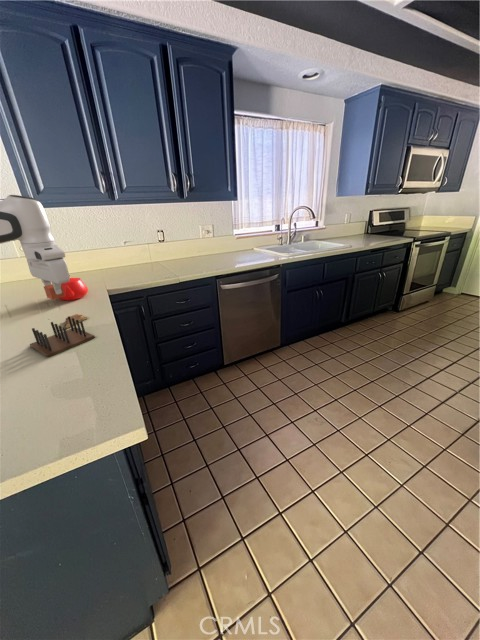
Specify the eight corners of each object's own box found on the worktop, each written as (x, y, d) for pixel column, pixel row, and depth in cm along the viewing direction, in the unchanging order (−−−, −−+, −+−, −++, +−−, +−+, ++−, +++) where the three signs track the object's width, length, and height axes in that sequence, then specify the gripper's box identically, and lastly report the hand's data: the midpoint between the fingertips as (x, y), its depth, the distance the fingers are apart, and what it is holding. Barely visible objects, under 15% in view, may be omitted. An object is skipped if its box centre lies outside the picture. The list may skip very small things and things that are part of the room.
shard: (66, 329, 107) (64, 325, 106) (52, 327, 110) (51, 323, 109) (88, 319, 116) (87, 315, 116) (75, 317, 119) (73, 313, 118)
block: (52, 299, 88) (48, 288, 86) (47, 297, 90) (43, 286, 88) (65, 296, 91) (61, 285, 89) (59, 294, 93) (56, 283, 92)
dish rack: (48, 357, 88) (41, 338, 85) (30, 346, 95) (23, 329, 92) (94, 337, 100) (89, 321, 97) (75, 329, 107) (70, 313, 104)
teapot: (59, 293, 151) (52, 272, 146) (89, 289, 157) (84, 269, 152) (53, 307, 131) (45, 283, 126) (88, 302, 137) (82, 279, 132)
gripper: (16, 250, 87) (31, 290, 93) (44, 255, 77) (58, 300, 82) (38, 247, 92) (50, 285, 98) (67, 252, 81) (79, 294, 87)
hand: (54, 292), depth 90 cm, fingers closed on block, 4 cm apart
